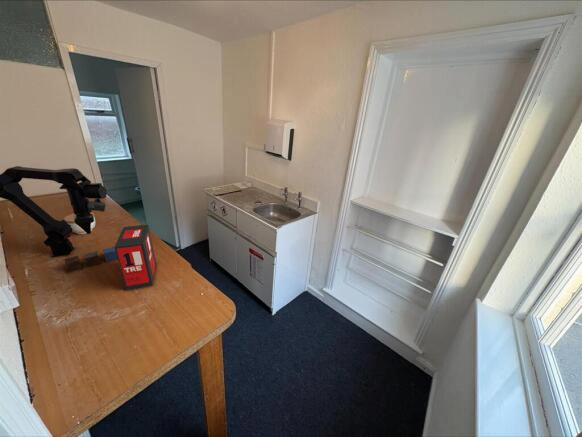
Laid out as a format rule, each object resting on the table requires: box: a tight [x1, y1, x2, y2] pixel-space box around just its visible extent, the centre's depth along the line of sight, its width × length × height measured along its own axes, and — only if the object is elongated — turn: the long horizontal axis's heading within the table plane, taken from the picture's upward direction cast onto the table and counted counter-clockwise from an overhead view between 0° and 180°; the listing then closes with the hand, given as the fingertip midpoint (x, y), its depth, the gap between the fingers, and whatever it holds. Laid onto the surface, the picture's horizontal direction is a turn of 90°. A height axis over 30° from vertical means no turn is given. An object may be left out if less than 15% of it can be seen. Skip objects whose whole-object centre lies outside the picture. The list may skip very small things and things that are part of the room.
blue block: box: [102, 246, 118, 262], centre depth 108 cm, size 4×4×4 cm
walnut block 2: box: [84, 250, 101, 267], centre depth 104 cm, size 4×4×4 cm
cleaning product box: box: [113, 224, 157, 291], centre depth 96 cm, size 16×9×20 cm, turn 23°
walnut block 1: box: [64, 255, 83, 273], centre depth 100 cm, size 4×4×4 cm
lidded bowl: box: [63, 211, 97, 235], centre depth 127 cm, size 13×13×11 cm
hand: (88, 229), depth 108 cm, fingers open, 9 cm apart
